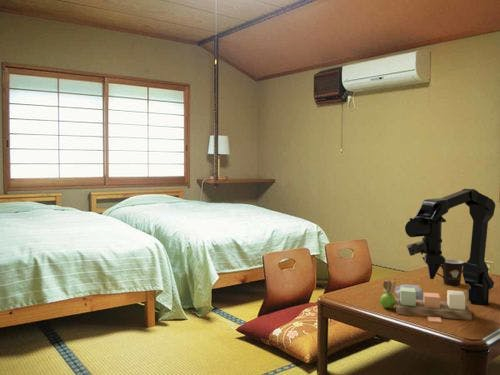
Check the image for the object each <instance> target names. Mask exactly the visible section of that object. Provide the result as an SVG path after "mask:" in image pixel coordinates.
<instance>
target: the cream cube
mask: <svg viewBox="0 0 500 375" xmlns="http://www.w3.org/2000/svg"><path fill="white" fill-rule="evenodd" d="M446 291H447V292H446V294H447V295H446V296H447V297H446V302H447V305H448V307H449V309H462V310H465V303H466V294H465V292H464V291H463V290H449V289H448V290H446Z"/></svg>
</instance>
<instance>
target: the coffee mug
mask: <svg viewBox="0 0 500 375" xmlns="http://www.w3.org/2000/svg"><path fill="white" fill-rule="evenodd" d="M463 263H464V261H462V260H459V259H453V258H452V259H451V258H445V264H444V265H441V266H440V268H441V269H442V270H441V271H442V274H440V273H438V272H437V273H436V275H437V276H440V277H441V278H442V279H443V284H444V285H446V286H449V287H450V286H451V287H459V286H461V281H462V276H463V273H462V270H463Z"/></svg>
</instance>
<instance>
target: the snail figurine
mask: <svg viewBox="0 0 500 375" xmlns="http://www.w3.org/2000/svg"><path fill="white" fill-rule="evenodd" d="M396 280H397V277H393V278H392V281H391V280H390V279H384V280H383V283H382V285H383V288H382V290H383V292H384V293H383V294H382V295H381V296H380V299H379V303H380V305H381V306H382V307H383V308H384V309H392V308H394V307H395V303H396V299H395V298H396V297H395V296H394V295H393V293H394V291H395V290H396V284H397V283H396Z"/></svg>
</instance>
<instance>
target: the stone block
mask: <svg viewBox="0 0 500 375" xmlns="http://www.w3.org/2000/svg"><path fill="white" fill-rule="evenodd" d="M400 287H404V288H415V291H416V299H417V300H423V292H424V290H423V289H422V288H421V286H420V285H415V284H414V285H413V284H408V283H406V284H401V285H400V284H399V285H397V286H396V285H395V294H396V298H400Z"/></svg>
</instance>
